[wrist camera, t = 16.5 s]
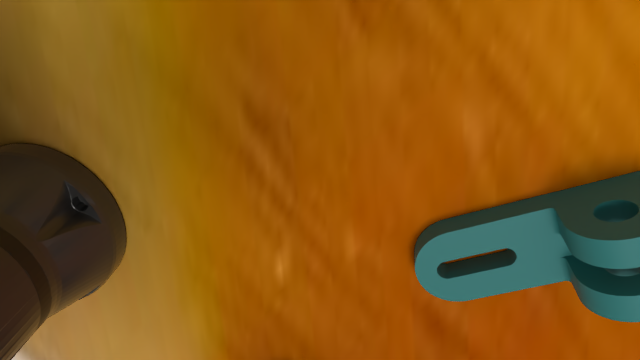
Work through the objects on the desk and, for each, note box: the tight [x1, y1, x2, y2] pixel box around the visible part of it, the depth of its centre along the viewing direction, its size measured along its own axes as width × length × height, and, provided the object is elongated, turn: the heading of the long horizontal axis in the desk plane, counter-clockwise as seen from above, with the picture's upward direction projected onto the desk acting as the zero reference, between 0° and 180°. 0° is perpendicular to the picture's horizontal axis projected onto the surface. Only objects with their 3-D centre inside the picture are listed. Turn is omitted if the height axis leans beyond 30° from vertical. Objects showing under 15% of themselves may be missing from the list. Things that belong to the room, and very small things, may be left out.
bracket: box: [414, 171, 640, 322], centre depth 38 cm, size 18×7×8 cm, turn 112°
